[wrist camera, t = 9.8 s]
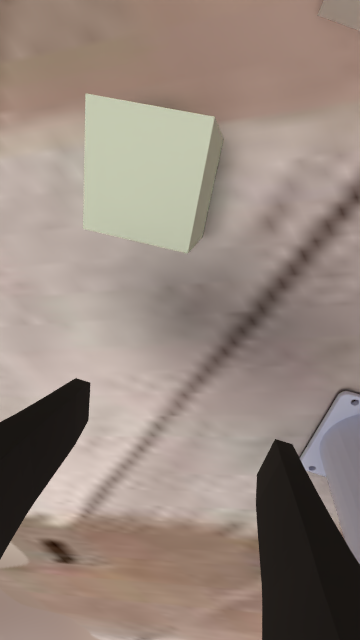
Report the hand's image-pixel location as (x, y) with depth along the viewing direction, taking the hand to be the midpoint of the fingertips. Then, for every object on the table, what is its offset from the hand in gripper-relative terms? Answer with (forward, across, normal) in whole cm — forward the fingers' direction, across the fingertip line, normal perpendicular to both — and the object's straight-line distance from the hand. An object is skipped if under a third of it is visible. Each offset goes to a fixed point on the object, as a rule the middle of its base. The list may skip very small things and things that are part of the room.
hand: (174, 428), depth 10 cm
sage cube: (+10, +4, -8) cm, 13 cm away
